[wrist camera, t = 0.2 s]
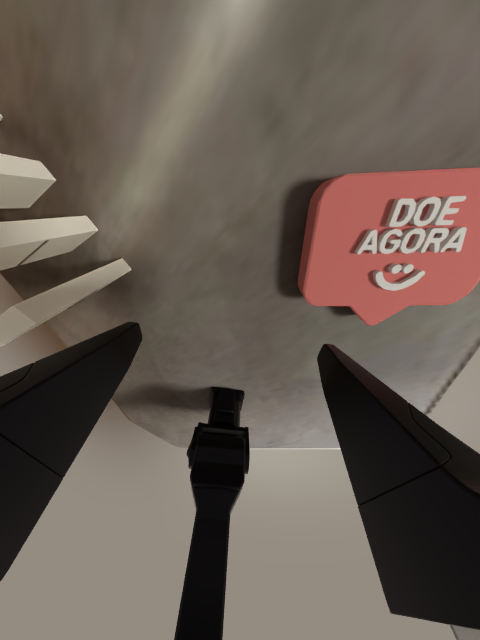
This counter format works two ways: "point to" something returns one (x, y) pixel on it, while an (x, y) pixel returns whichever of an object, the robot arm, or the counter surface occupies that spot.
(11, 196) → the domino
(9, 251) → the domino
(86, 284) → the domino
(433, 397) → the counter surface
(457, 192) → the plaque
